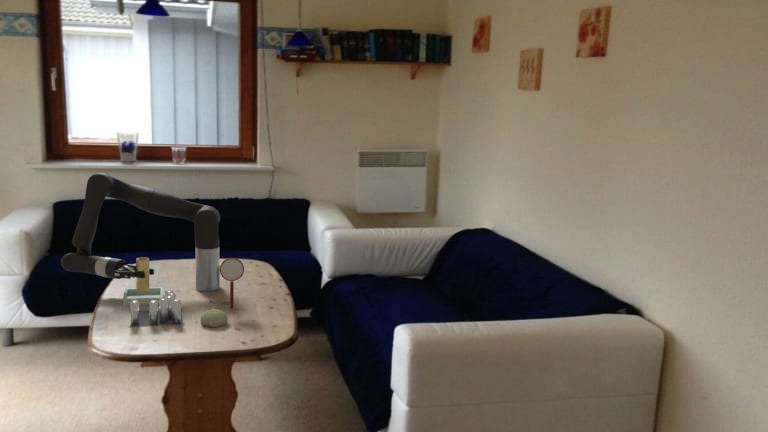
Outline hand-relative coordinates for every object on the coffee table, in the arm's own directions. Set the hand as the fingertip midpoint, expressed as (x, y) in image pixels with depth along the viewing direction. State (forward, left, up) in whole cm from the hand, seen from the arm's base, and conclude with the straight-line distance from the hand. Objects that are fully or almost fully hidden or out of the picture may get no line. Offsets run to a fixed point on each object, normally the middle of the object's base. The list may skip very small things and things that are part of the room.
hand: (148, 273), depth 259 cm
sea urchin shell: (-22, +29, -11) cm, 38 cm away
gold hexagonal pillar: (+2, -2, -7) cm, 7 cm away
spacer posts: (-3, +22, -10) cm, 24 cm away
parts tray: (+2, -2, -11) cm, 11 cm away
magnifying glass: (-29, +15, -11) cm, 35 cm away
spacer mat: (-3, +21, -11) cm, 23 cm away
